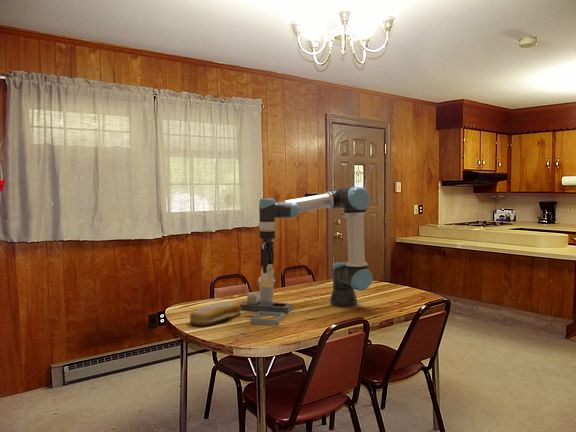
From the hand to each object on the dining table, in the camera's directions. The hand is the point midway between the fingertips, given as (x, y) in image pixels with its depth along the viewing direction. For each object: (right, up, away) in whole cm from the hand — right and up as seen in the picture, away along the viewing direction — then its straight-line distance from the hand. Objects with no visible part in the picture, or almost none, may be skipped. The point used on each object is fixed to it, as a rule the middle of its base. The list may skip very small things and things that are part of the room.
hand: (267, 278), depth 212 cm
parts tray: (0, -20, +1) cm, 21 cm away
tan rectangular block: (0, -4, 0) cm, 4 cm away
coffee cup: (-2, -19, +33) cm, 38 cm away
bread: (-25, -21, +2) cm, 33 cm away
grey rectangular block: (-8, -19, +19) cm, 28 cm away
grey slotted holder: (-1, -20, +17) cm, 26 cm away
